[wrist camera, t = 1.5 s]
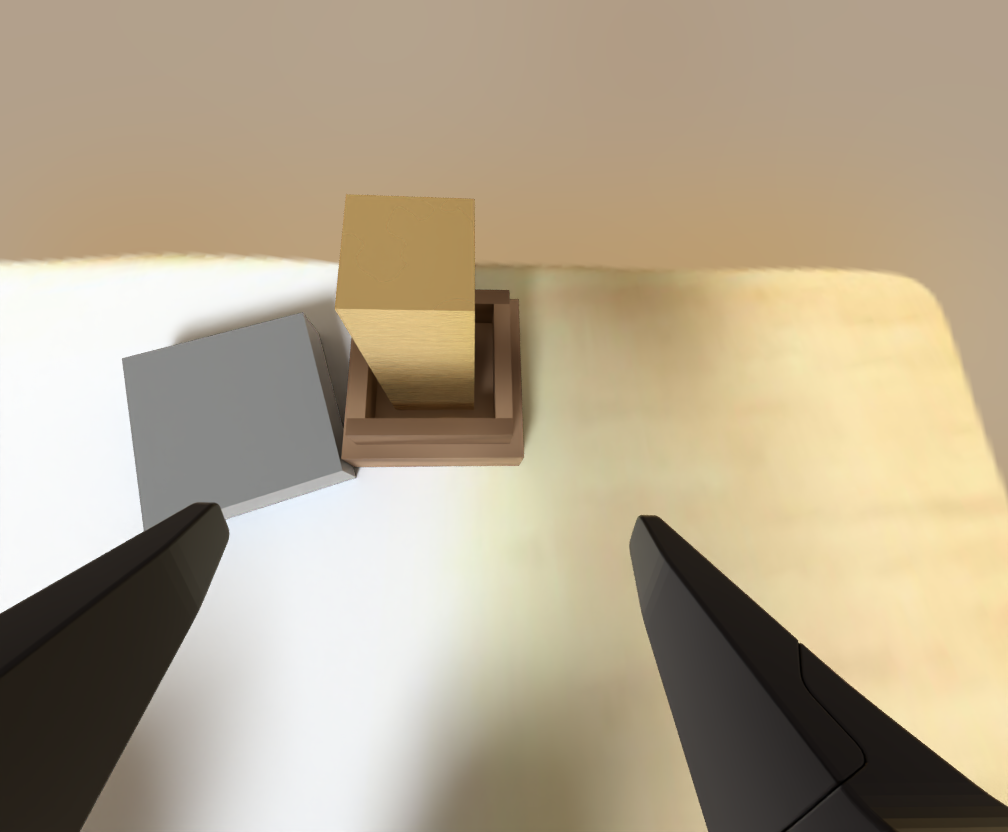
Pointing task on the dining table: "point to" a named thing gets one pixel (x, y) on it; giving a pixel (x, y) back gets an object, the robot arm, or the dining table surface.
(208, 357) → the slate plinth
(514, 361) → the walnut holder
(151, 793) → the dining table surface
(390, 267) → the brass bar
